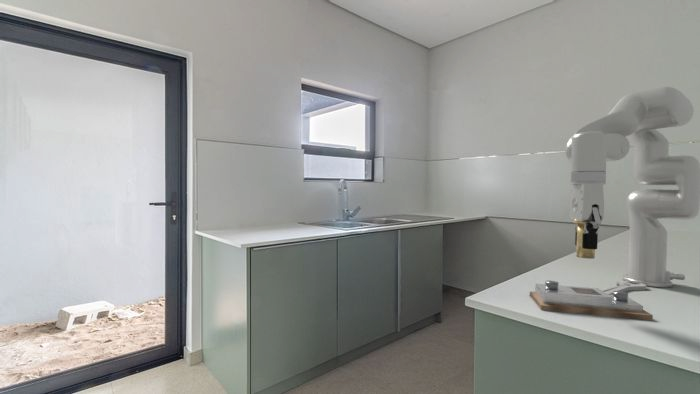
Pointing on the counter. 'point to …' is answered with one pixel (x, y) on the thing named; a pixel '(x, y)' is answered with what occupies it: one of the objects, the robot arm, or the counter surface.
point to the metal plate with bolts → (585, 297)
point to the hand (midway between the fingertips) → (585, 246)
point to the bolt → (580, 251)
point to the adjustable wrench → (625, 287)
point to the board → (591, 310)
